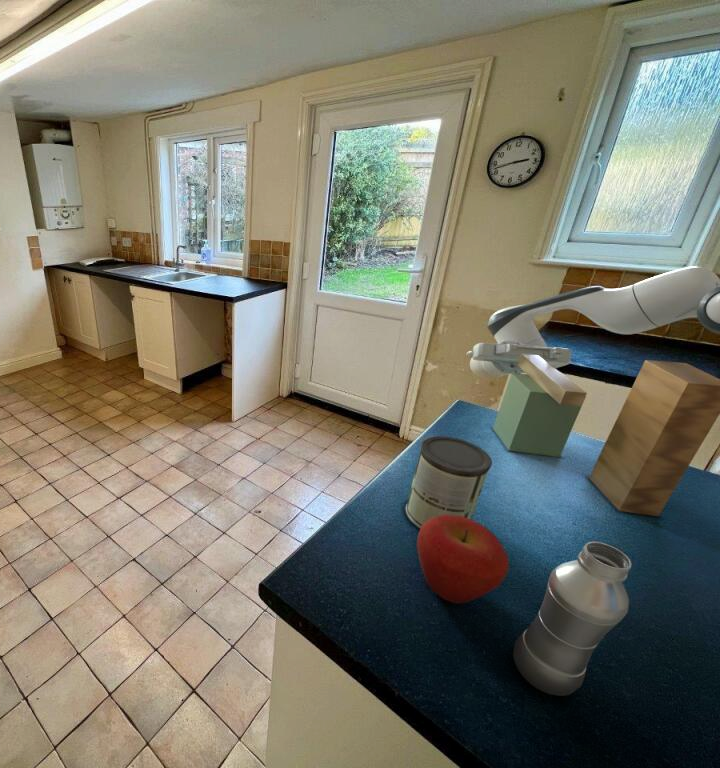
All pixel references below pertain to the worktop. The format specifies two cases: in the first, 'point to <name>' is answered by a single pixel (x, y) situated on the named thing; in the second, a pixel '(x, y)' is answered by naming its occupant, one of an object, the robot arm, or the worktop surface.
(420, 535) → the apple
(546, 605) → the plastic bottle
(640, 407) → the tall stand
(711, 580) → the worktop surface
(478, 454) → the coffee can
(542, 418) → the low box
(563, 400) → the slim box
